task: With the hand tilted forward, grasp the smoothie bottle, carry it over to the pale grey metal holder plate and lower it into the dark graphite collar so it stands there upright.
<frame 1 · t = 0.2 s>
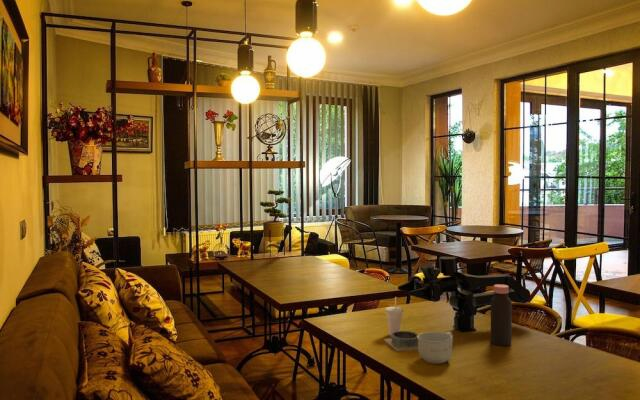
hand: (403, 290, 181), 17 cm above the table, tool horizontal, fingers open, 9 cm apart
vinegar: (500, 343, 172), on the table
teacup: (438, 360, 158), on the table
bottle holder: (405, 344, 172), on the table
smoothie: (394, 335, 183), on the table
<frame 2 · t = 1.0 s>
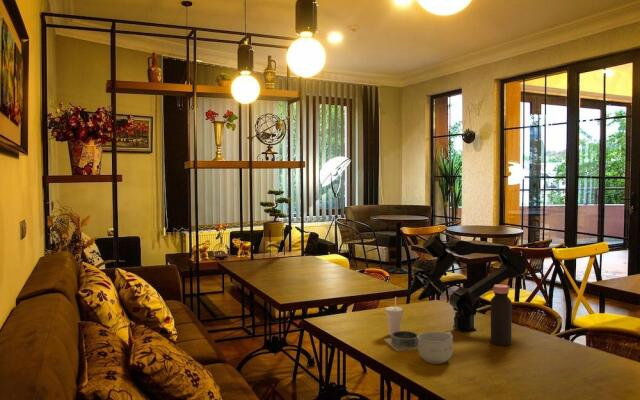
hand: (413, 296, 184), 14 cm above the table, tool tilted 45°, fingers open, 9 cm apart
nothing on the table moved.
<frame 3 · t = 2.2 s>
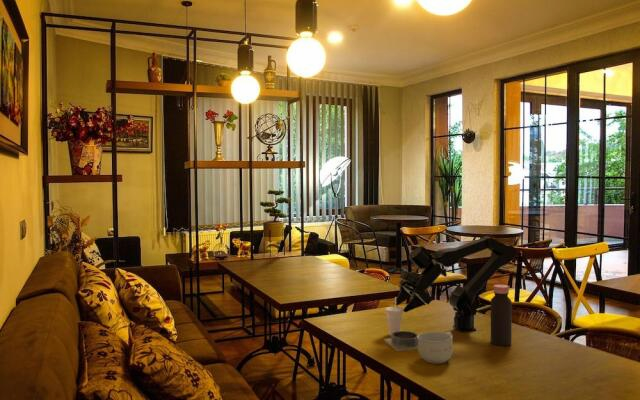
hand: (399, 308, 183), 10 cm above the table, tool tilted 45°, fingers open, 9 cm apart
nothing on the table moved.
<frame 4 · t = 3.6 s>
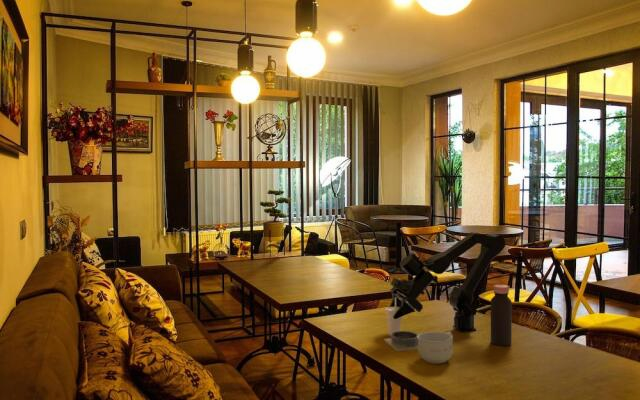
hand: (390, 315, 182), 7 cm above the table, tool tilted 45°, fingers closed on smoothie, 6 cm apart
smoothie: (394, 335, 183), on the table, touching gripper
everything else where it was.
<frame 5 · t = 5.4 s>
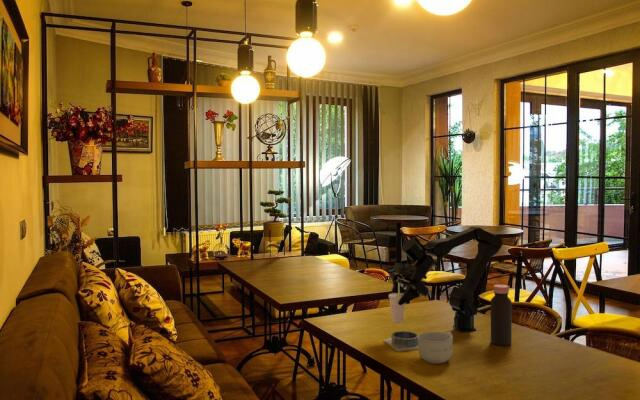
hand: (394, 302, 177), 13 cm above the table, tool tilted 45°, fingers closed on smoothie, 6 cm apart
smoothie: (397, 322, 178), point 6 cm above the table, touching gripper
everything else where it was.
when the fingers open (9 cm above the table, at t = 7.4 s): smoothie stays where it is, resting on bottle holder.
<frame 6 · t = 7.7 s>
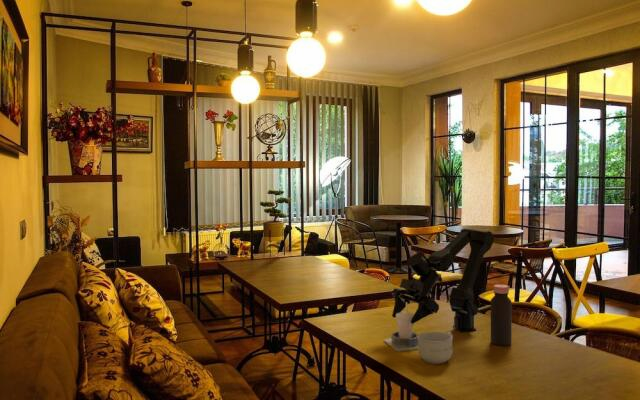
hand: (402, 319, 171), 9 cm above the table, tool tilted 45°, fingers open, 9 cm apart
smoothie: (405, 342, 172), point 1 cm above the table, touching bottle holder
everything else where it was.
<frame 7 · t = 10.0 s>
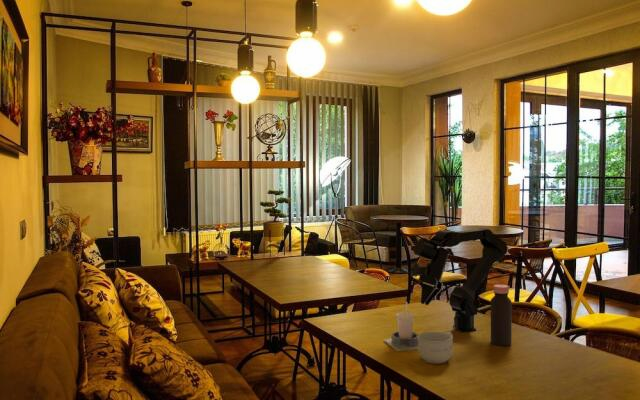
hand: (424, 304, 181), 12 cm above the table, tool tilted 20°, fingers open, 9 cm apart
nothing on the table moved.
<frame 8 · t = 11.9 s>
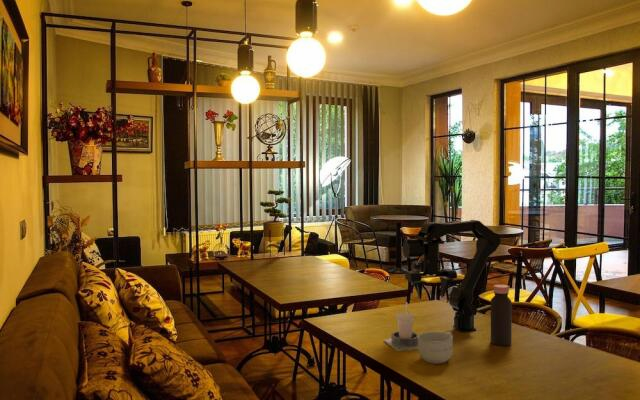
hand: (431, 298, 184), 13 cm above the table, tool pointing down, fingers open, 9 cm apart
nothing on the table moved.
at the end: smoothie 0.1 cm off-centre on the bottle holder, point 0.6 cm above the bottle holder's base; smoothie tilted 0°; the gripper is holding nothing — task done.
